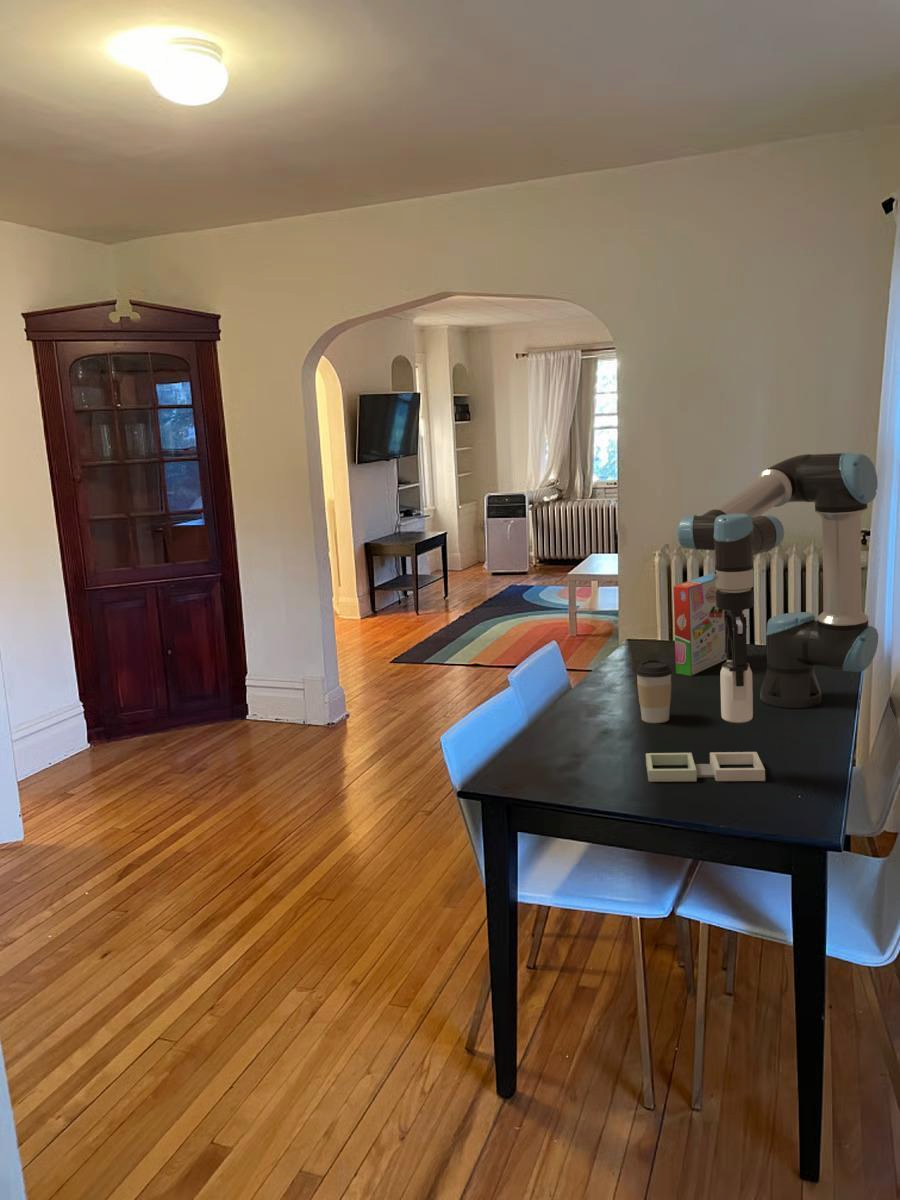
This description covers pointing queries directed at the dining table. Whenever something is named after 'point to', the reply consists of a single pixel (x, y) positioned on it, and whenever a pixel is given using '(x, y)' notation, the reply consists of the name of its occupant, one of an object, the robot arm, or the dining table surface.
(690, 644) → the game box
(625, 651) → the dining table surface
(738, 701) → the can
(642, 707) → the coffee cup
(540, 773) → the dining table surface
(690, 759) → the socket panel
